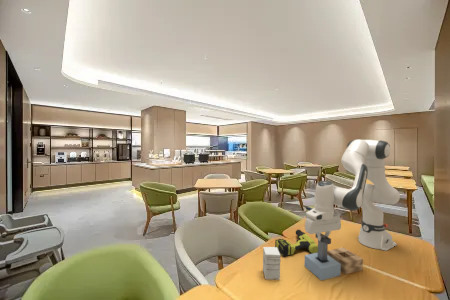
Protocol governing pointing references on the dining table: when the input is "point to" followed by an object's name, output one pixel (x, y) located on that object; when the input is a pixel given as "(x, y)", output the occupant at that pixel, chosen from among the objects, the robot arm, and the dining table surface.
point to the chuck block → (322, 266)
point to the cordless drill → (296, 244)
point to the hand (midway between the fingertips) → (322, 239)
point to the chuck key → (323, 248)
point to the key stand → (346, 260)
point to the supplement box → (271, 263)
